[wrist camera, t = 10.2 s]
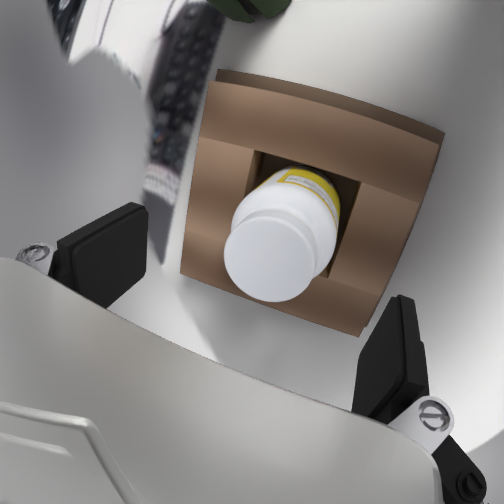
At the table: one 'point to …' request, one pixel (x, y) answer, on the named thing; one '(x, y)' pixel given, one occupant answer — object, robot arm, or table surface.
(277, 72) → the table surface
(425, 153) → the bottle holder
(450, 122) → the table surface
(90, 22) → the table surface
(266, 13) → the character mug
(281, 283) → the supplement bottle
